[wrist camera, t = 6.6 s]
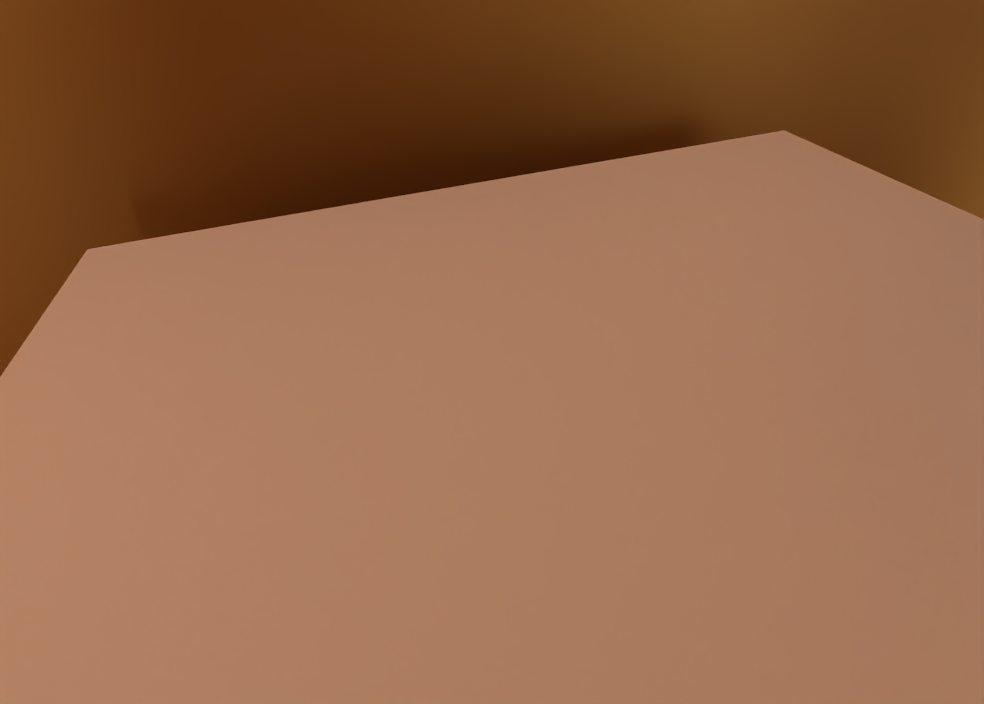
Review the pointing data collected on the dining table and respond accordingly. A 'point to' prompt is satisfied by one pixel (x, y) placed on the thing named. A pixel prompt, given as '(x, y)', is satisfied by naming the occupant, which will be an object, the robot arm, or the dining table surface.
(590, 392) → the pale pink cube
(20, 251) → the dining table surface
